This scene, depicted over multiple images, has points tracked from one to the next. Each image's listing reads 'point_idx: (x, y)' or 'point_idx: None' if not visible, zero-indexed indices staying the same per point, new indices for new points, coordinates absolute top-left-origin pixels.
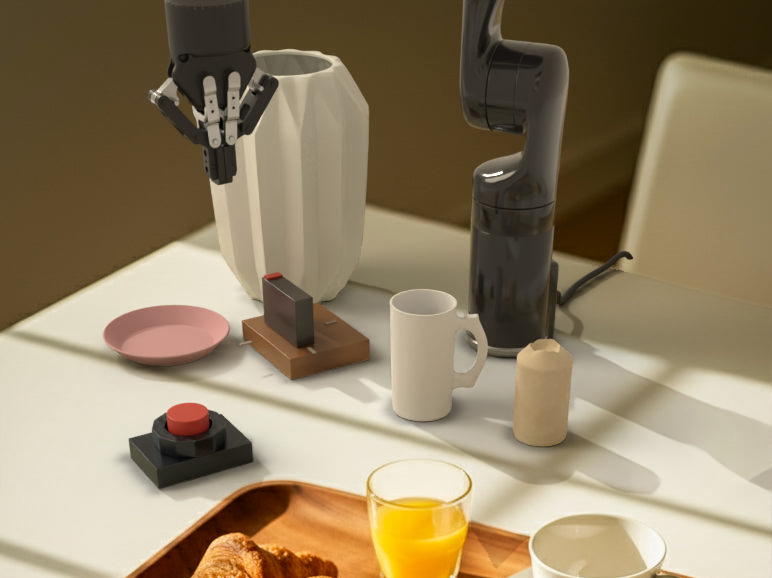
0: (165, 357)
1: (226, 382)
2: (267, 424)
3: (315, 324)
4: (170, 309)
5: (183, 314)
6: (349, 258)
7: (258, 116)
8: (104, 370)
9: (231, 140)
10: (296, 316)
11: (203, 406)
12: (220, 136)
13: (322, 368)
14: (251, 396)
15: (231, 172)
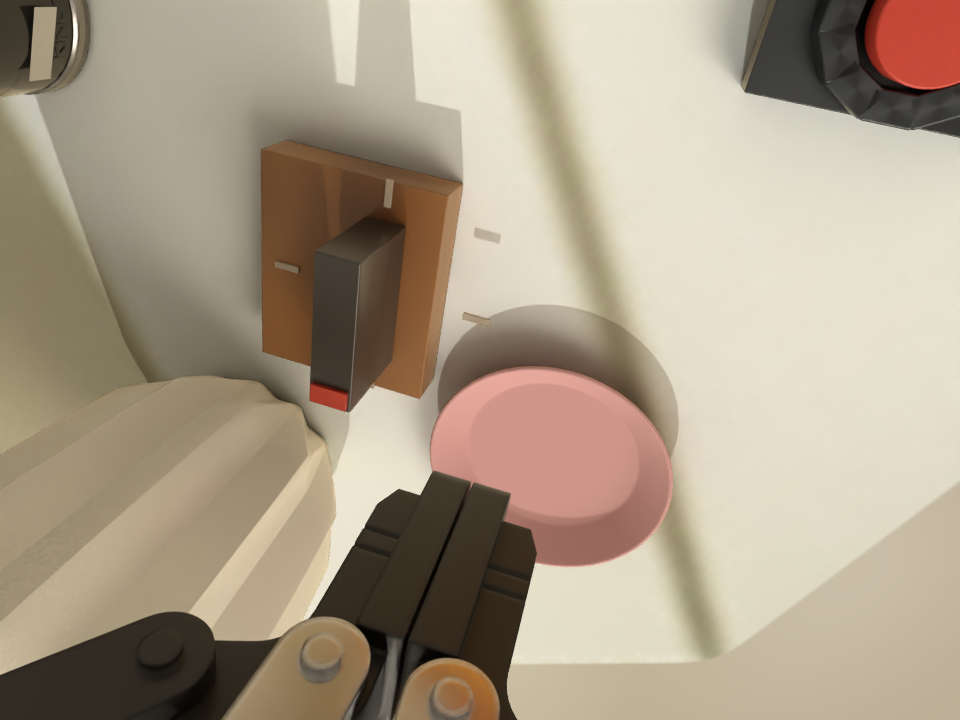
0: (625, 398)
1: (568, 271)
2: (637, 46)
3: None
4: None
5: None
6: (140, 394)
7: (4, 693)
8: (703, 469)
9: (332, 644)
10: (375, 250)
11: (886, 19)
12: (396, 716)
13: (389, 168)
14: (571, 185)
15: (422, 501)
